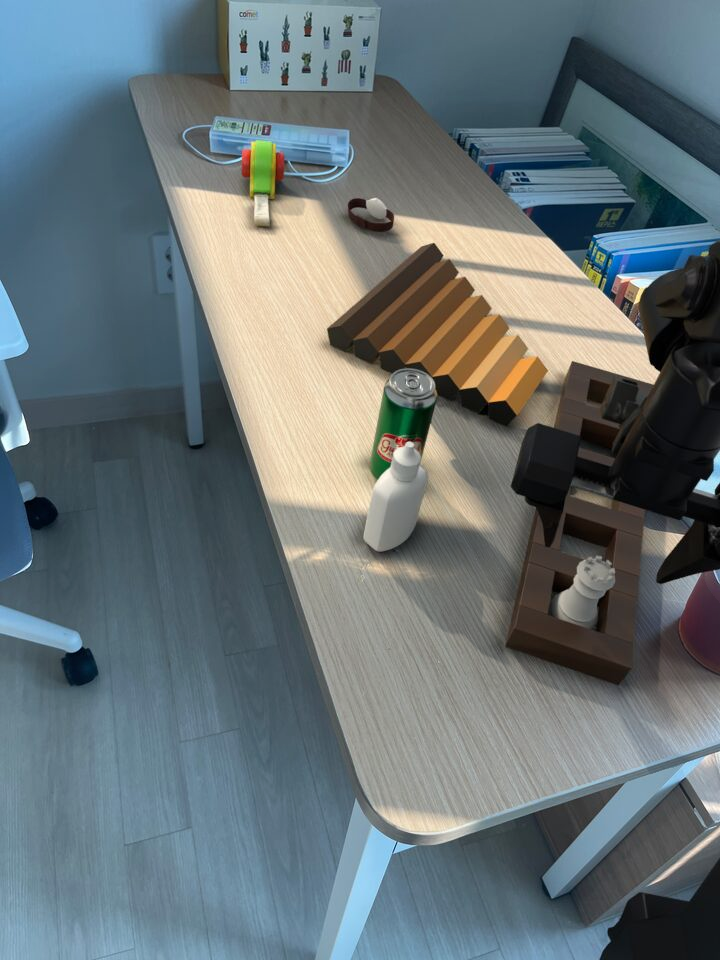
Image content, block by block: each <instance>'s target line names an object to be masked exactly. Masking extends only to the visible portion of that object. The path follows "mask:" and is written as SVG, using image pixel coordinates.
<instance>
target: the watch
mask: <svg viewBox="0 0 720 960" xmlns="http://www.w3.org/2000/svg"><path fill="white" fill-rule="evenodd" d="M358 208H359V209H365V210H367V211H368V213H369V214H370V215H371V216H372V217H374V218H375V219H378V220H383V219H387V220H389V221H387V222H373V221H370V220H368V219H365V218H362V217H361V216H359V215H358V214H357V215H356V214H355V213H354V212H353V211H352V210H353V209H358ZM347 213H348V214H347V215H348V218H349V220H350V221H351V222H352V223H354V224H355V225H356V226H357V227H359V228H361V229H363V230H368V231H370V232H373V233H374V232H375V233H384V232H389V231H390V230H392V229H393V227H394V223H395V215H394V212H392V211H391V210H389V209H388V208H387V206H386V204H385V203H384V202H383V201H382V200H380V199H379V198H378V197H374V198H370V199H369V200H367V199H365V198H361V197H355V198H352V199H350V200H349V201H348V202H347Z"/></svg>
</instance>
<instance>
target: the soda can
mask: <svg viewBox="0 0 720 960" xmlns="http://www.w3.org/2000/svg"><path fill="white" fill-rule="evenodd" d="M435 388H436V387H435V382H434V380H433V379H432V378H431V377H430V376H429V375H428V374H426V373H425V372H423V371H420V370H417V369H410V368H406V369H405V368H404V369H400V370H397V371H396V372H394V373H393V374H391V375H390V377H389V379H387V381H385V383H384V385H383V391H382V396H381V402H380V407H379V412H378V417H377V423H376V428H375V433H374V439H373V444H372V449H371V455H370V459H369V471H370V473H371V475H372V476H373V477H374V479H376V481H378V479H379V478H380V476H381V475H382V474H383V473H384V472H385V471H386V470H387V469H389V468H390V467H391V462H392V458H393V453H394V451H395V450H396V449H398V448H400V447H404V446H405V444H406V443H407V442H412V443H413V444H414V449H415V450H417V451H418V452H419V454H420V456H421V461H420V464H421V462H422V459H423V455H424V451H425V447H426V445H427V444H426V443H427V439H428V436H429V431H430V428H431V423H432V419H433V416H434V412H435V408H436V404H437V400H438V395H437V391H436V389H435Z"/></svg>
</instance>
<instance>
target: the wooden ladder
mask: <svg viewBox="0 0 720 960" xmlns="http://www.w3.org/2000/svg"><path fill="white" fill-rule="evenodd" d="M568 367H569V368H568V369H567V372H566V375H565V377H564V380H563V384H562V388H561V393H560V396H559V397H560V398H559V402H558V407H557V411H556V415H555V420H554V425H553V428H557V429H560V430H563V431H566V432H570V433H573V434H576V435H580V436H581V439H580V440H583V441H586V442H588V443H592V444H595V445H598V446H601V447H605V448H608V449H611V450H612V448H613V442H614V440H615V438H616V436H617V434H618V433H619V431H620V429H621V428H619V424H618V423H614V422H611V421H608V420H604V419H602V417H601V408H598V407H596V406H595V407H594V406H592V405H589V404H587V401H591V402H594V403H598V404H601V405H602V403H603V401H604V398H605V395H606V393H607V391H608V389H609V387H610V385H611V383H612V381H613V379H614V377H615V376H619V377H622V378H626V379H629V380H633V381H636V382H637V386H638V388H639V390H644V391H647V392H650V391H651V389H652V387H653V385H654V383H649V382H647V381H643V380H639V379H636V378H633V377H629V376H626V375H622V374H619V373H616V372H612V371H609V370H606V369H605V370H604V369H602V368H598V367H595V366H592V365H588V364H584V363H580V362H577V361H574V360H572V361H571V362H570V365H569V366H568ZM578 457H582V458H585V459H588V460H591V461H594V462H598V463H601V464H604V465H607V466H612V464H613V462H614V460H615V458H616V457H612V456H608V455H605V454H602V453H598V452H595V451H592V450H589V449H585V448H583V447H579V450H578ZM571 487H572V486H570V488H569V491H568V494H567V496H566V499H565V504H564V510H563V514H562V517H561V520H560V523H559V527H558V530H557V533H556V537H555V540H554V542H553V544H552V545H551V546H550V548H548V547H545V542H544V532H543V525H542V521H541V519H540V516H539V513H538V511H537V508H536V507H535V510H534V514H533V519H532V524H531V528H530V532H529V536H528V543H527V547H526V551H525V555H524V560H523V564H522V569H521V573H520V576H519V577H520V578H519V583H518V587H517V591H516V596H515V601H514V604H513V609H512V613H511V618H510V624H509V626H508V632H507V637H506V641H505V648H508V649H511V650H514V651H517V652H519V653H522V654H526V655H529V656H532V657H534V658H538V659H540V660H543V661H546V662H549V663H552V664H555V665H558V666H560V667H564V668H566V669H569V670H572V671H575V672H578V673H581V674H584V675H586V676H588V677H593V678H595V679H597V680H601V681H604V682H607V683H610V684H613V685H616V686H620V685H621V683H622V682H623V681H624V680H625V679H626V677H627V676H628V674H629V673H630V672H631V670H632V669H633V660H634V647H635V636H636V625H637V611H638V600H639V598H638V597H639V587H640V573H641V559H642V548H643V536H644V526H645V512H646V510H645V509H641V508H638V507H635V506H632V505H629V504H625V503H622V502H619V501H616V500H613V499H611V505H610V507H607V506H604V505H601V504H597V503H594V502H592V501H588V500H585V499H581V498H579V497H577V496H572V495H570V493H571ZM563 535H565V536H567V537H571V538H574V539H577V540H580V541H582V542H586V543H590V544H593V545H596V546H598V547H602V548H605V555H604V562H606V561H607V560H609V561H610V562H611V563H612V565H611V566H610V568H615V574H614V575H615V583H614V585H613V587H612V588H610V589H609V590H606V592H605V595H604V596H602V597H601V598H599V600H598V603H597V610H598V621H597V624H596V626H595V629H594V630H591V629H588V628H585V627H582V626H579V625H576V624H573V623H570V622H567V621H564V620H561V619H558V618H555V617H552V616H549V615H547V613H548V608H549V603H550V602H551V596H552V593H555V594H559V593H560V592H562V591H565V590H567V589H569V588H570V587H571V586H572V585H573V584H574V577H575V576H576V574H577V566H578V565H579V563H580V562H582V561H583V560H586V559H587V558H582V557H579V556H576V555H574V554H570V553H567V552H564V551H561V550H560V548H561V542H562V537H563Z"/></svg>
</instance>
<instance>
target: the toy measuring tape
mask: <svg viewBox="0 0 720 960" xmlns="http://www.w3.org/2000/svg"><path fill="white" fill-rule="evenodd" d="M241 176H242V177H243V178H249V197H250V198H253V199H254V209H253V212H254V213H253V216H254V217H253V219H254V225H255V226H257V227H270V222H271V221H270V212H269V211H270V210H269V200H270V199H271V200H274V199H275V198H276V197H275V196H276V195H275V194H276V181H278V182H281V181H283V180H284V177H285V154H284V153H283V152H280V151H277V144H276V143H274V142H272V141H270V140H262V139H261V140H259V139H255V141H251V142H250V148H244V149H242V151H241Z"/></svg>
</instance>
